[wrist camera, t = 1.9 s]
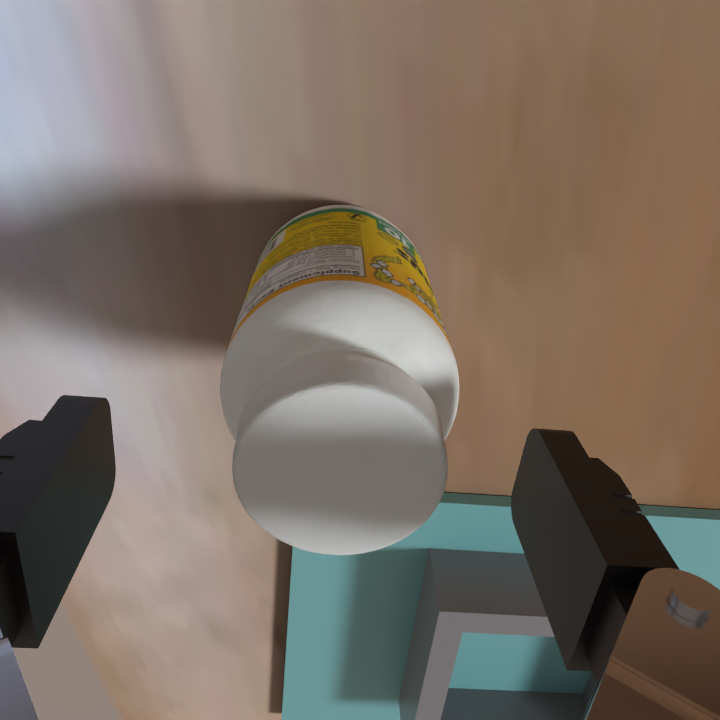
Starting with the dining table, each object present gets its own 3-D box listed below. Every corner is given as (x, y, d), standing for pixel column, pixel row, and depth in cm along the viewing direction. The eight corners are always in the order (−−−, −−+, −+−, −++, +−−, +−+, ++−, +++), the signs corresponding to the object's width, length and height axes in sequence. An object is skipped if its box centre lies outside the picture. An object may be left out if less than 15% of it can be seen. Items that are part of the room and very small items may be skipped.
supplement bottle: (233, 224, 19) (143, 383, 10) (407, 181, 18) (461, 312, 10) (285, 375, 21) (246, 602, 13) (439, 341, 21) (504, 554, 12)
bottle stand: (802, 515, 25) (869, 586, 22) (683, 729, 31) (721, 808, 28) (297, 482, 24) (289, 554, 20) (282, 713, 30) (274, 794, 27)
